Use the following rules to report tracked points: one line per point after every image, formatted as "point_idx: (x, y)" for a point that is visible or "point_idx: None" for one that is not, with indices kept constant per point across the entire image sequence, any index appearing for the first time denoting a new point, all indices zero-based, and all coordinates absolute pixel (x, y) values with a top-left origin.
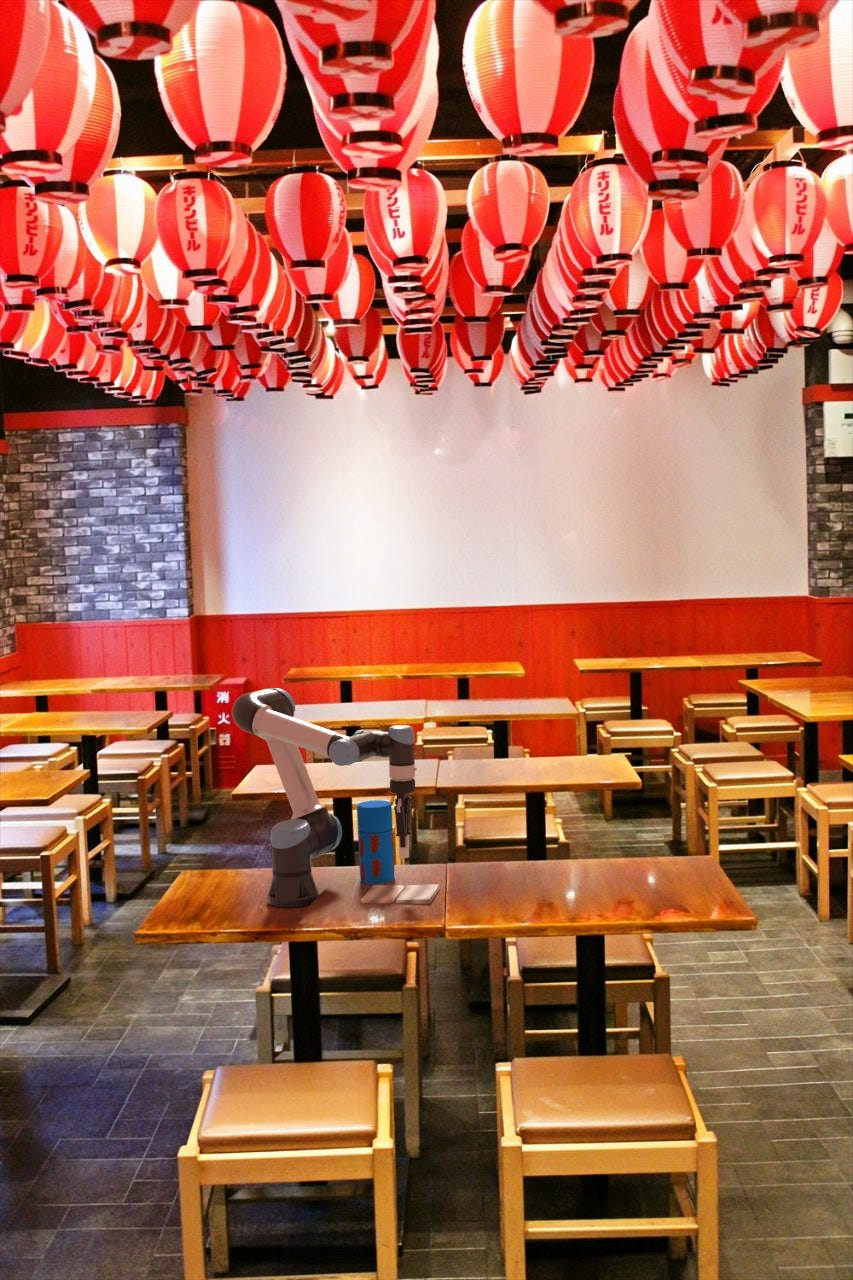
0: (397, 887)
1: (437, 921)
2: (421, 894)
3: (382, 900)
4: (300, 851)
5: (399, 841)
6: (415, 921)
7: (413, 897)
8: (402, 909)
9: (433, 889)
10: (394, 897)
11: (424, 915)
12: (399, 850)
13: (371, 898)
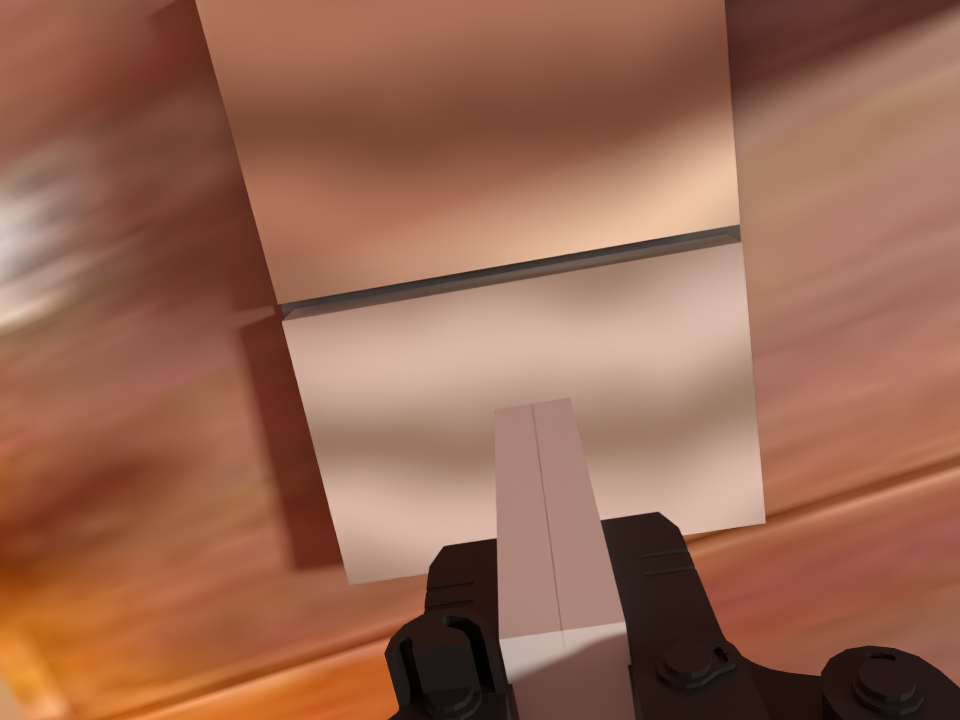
0: (666, 175)
1: (114, 675)
2: (463, 480)
3: (251, 198)
4: None
5: (502, 570)
6: (53, 553)
7: (375, 444)
8: (269, 368)
9: None
10: (358, 274)
11: (196, 563)
12: (496, 472)
13: (260, 69)
